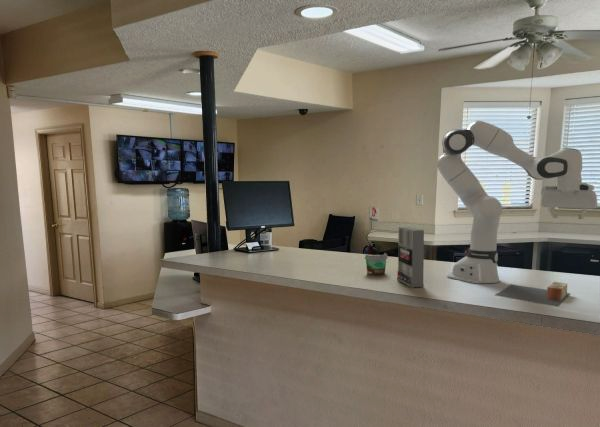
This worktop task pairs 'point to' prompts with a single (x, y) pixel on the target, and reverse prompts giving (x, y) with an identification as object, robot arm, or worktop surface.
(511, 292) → the charcoal mat
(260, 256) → the worktop surface
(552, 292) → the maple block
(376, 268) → the food container
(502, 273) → the worktop surface
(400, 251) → the cassette tape recorder
